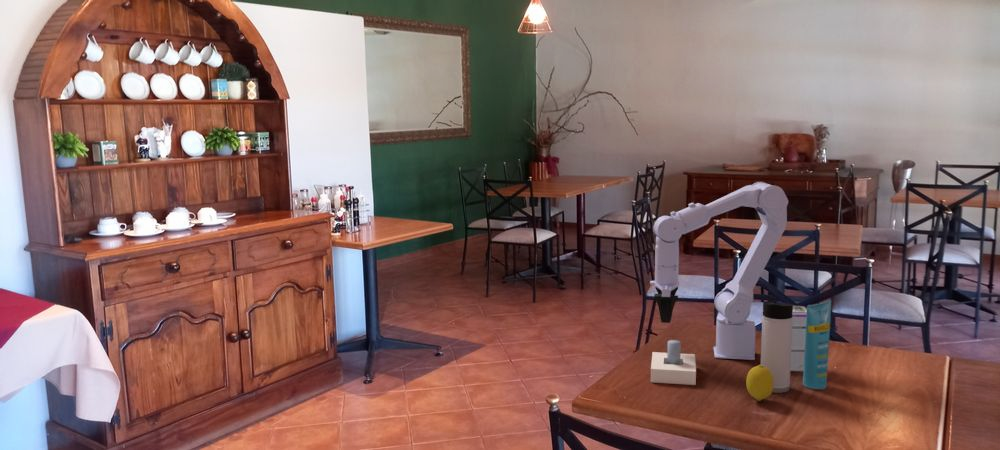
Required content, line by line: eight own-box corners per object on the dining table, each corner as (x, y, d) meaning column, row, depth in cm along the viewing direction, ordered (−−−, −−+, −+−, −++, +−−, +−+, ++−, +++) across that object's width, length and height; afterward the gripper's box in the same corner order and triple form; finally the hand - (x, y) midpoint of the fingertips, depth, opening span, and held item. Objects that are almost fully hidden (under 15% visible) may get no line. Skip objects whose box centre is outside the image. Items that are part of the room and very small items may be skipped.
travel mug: (757, 391, 168) (760, 303, 165) (762, 381, 174) (765, 296, 171) (787, 395, 166) (791, 306, 162) (791, 385, 171) (795, 298, 168)
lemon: (776, 405, 160) (778, 369, 159) (750, 406, 160) (751, 369, 159) (768, 395, 166) (769, 360, 165) (742, 396, 166) (743, 360, 165)
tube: (814, 392, 167) (818, 307, 164) (794, 386, 171) (798, 302, 168) (834, 385, 171) (838, 302, 168) (815, 379, 175) (819, 297, 172)
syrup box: (809, 371, 180) (811, 312, 177) (782, 370, 181) (785, 311, 178) (803, 363, 185) (806, 305, 183) (778, 362, 186) (780, 304, 184)
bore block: (694, 367, 184) (694, 354, 184) (695, 385, 173) (696, 371, 172) (652, 364, 187) (652, 352, 186) (650, 382, 175) (650, 368, 175)
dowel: (679, 368, 181) (680, 340, 180) (680, 373, 178) (680, 344, 177) (666, 368, 181) (667, 339, 180) (667, 372, 178) (667, 343, 177)
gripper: (651, 258, 197) (650, 309, 199) (649, 270, 183) (648, 325, 185) (679, 259, 195) (678, 310, 197) (679, 271, 181) (678, 326, 183)
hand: (666, 318), depth 191 cm, fingers open, 7 cm apart
